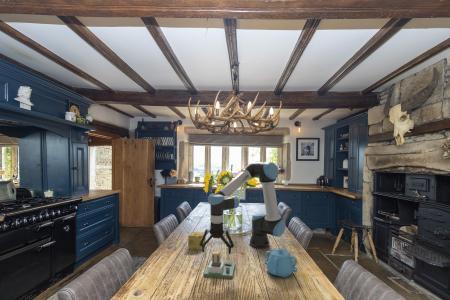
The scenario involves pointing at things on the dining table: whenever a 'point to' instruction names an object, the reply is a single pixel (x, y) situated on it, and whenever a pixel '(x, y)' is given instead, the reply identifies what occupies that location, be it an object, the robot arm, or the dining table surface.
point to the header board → (220, 270)
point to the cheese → (195, 240)
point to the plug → (216, 258)
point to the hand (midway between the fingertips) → (216, 258)
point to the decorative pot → (280, 263)
